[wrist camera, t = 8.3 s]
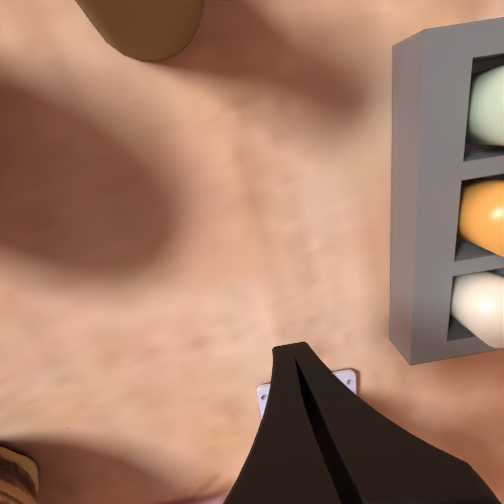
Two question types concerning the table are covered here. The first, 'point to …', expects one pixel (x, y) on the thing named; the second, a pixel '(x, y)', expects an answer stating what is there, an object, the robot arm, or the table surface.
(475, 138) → the pale green rounded blob
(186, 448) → the table surface
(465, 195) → the orange rounded blob
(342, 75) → the table surface
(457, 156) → the grey compartment tray
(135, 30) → the cork
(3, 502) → the ceramic jug
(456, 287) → the cream egg
